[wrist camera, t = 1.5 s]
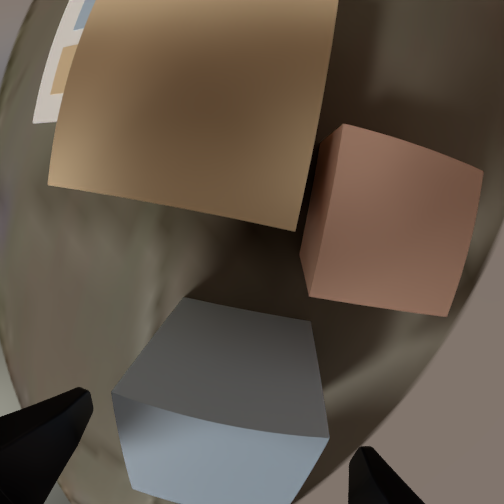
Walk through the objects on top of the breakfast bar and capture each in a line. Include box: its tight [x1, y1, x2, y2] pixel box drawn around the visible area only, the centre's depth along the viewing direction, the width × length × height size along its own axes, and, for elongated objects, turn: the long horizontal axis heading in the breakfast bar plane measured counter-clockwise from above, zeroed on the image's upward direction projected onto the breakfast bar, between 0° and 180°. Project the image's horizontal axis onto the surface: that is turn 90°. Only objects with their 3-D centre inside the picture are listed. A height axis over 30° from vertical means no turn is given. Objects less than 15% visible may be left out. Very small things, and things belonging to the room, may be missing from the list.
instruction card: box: [33, 0, 96, 124], centre depth 9 cm, size 8×4×1 cm, turn 171°
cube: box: [299, 123, 484, 317], centre depth 8 cm, size 4×4×4 cm
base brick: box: [48, 0, 339, 232], centre depth 8 cm, size 7×7×4 cm
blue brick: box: [111, 297, 330, 504], centre depth 9 cm, size 5×5×6 cm
